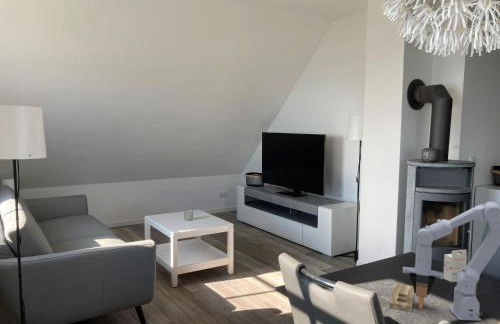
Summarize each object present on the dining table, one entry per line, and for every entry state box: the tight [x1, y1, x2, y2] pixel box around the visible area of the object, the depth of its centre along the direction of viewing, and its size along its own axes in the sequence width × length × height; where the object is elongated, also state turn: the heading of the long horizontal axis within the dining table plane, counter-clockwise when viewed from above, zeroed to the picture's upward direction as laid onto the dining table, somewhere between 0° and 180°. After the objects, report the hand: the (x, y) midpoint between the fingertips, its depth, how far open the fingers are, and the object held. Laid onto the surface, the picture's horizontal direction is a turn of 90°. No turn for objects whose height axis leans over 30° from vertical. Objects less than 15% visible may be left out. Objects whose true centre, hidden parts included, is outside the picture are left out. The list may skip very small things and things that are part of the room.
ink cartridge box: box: [442, 249, 468, 283], centre depth 189 cm, size 9×5×15 cm, turn 105°
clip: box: [415, 282, 428, 310], centre depth 161 cm, size 4×7×8 cm, turn 156°
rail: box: [389, 282, 415, 312], centre depth 167 cm, size 8×22×2 cm, turn 156°
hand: (421, 293), depth 161 cm, fingers closed on clip, 4 cm apart
